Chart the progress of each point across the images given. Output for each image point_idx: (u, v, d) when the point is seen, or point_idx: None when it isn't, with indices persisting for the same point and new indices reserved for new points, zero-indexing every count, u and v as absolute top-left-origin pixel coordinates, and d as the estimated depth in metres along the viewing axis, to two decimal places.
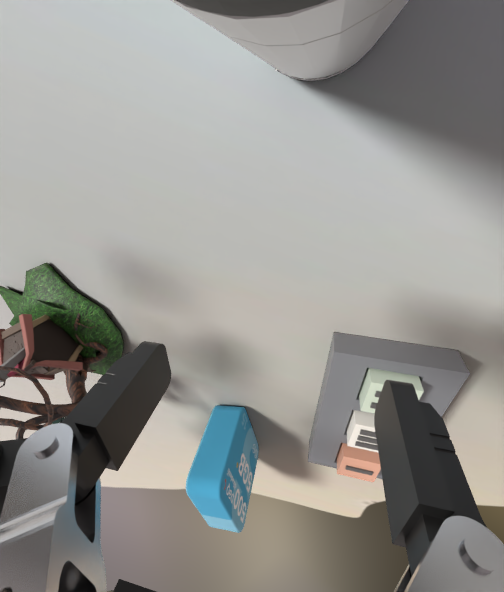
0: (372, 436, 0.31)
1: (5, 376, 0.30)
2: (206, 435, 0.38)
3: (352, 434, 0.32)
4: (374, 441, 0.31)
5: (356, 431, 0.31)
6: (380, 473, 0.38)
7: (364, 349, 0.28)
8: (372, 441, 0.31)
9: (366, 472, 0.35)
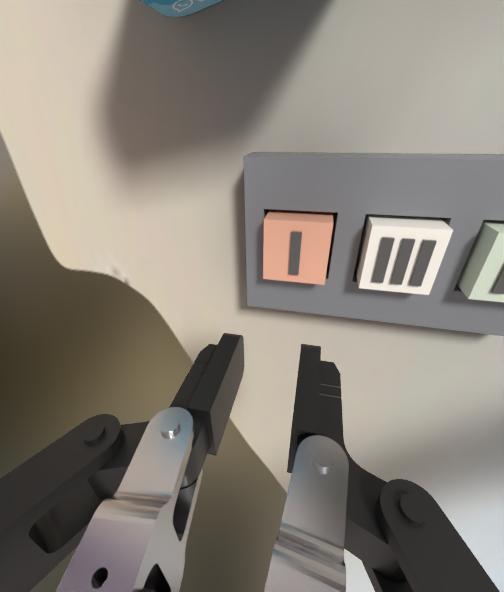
0: (417, 260, 0.18)
1: None
2: None
3: (414, 228, 0.17)
4: (403, 265, 0.18)
5: (427, 234, 0.17)
6: (262, 282, 0.24)
7: None
8: (402, 262, 0.18)
9: (295, 265, 0.20)
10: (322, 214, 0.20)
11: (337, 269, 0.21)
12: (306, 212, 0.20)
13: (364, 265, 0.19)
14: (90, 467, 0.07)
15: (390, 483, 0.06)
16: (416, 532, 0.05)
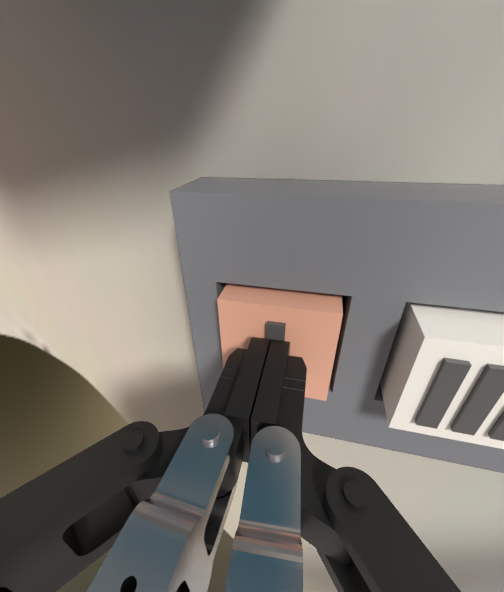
0: None
1: None
2: None
3: None
4: (482, 408, 0.09)
5: None
6: None
7: None
8: (482, 403, 0.09)
9: None
10: None
11: (348, 380, 0.12)
12: None
13: (402, 397, 0.10)
14: (132, 477, 0.06)
15: (334, 473, 0.06)
16: (359, 516, 0.06)
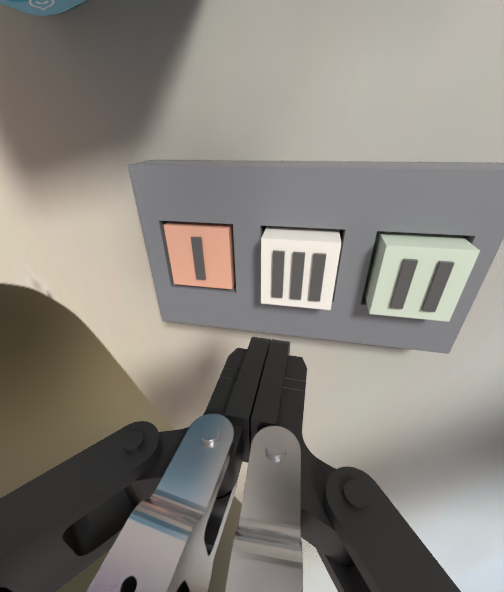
0: (312, 274, 0.17)
1: None
2: None
3: (303, 242, 0.16)
4: (298, 279, 0.17)
5: (317, 247, 0.16)
6: (172, 296, 0.22)
7: None
8: (297, 276, 0.17)
9: (200, 270, 0.20)
10: None
11: (243, 283, 0.20)
12: None
13: (261, 279, 0.18)
14: (132, 477, 0.06)
15: (334, 473, 0.06)
16: (359, 516, 0.06)
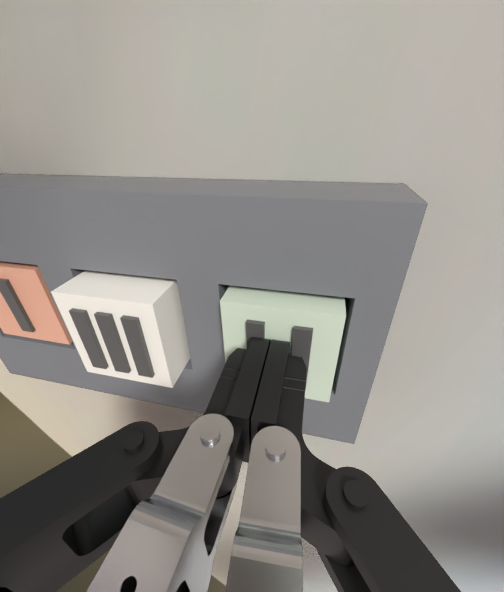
0: (129, 343, 0.12)
1: None
2: None
3: (104, 299, 0.11)
4: (115, 348, 0.12)
5: (124, 308, 0.11)
6: (8, 347, 0.17)
7: None
8: (112, 344, 0.12)
9: (23, 321, 0.15)
10: None
11: None
12: None
13: (75, 343, 0.13)
14: (132, 477, 0.06)
15: (334, 473, 0.06)
16: (359, 516, 0.06)
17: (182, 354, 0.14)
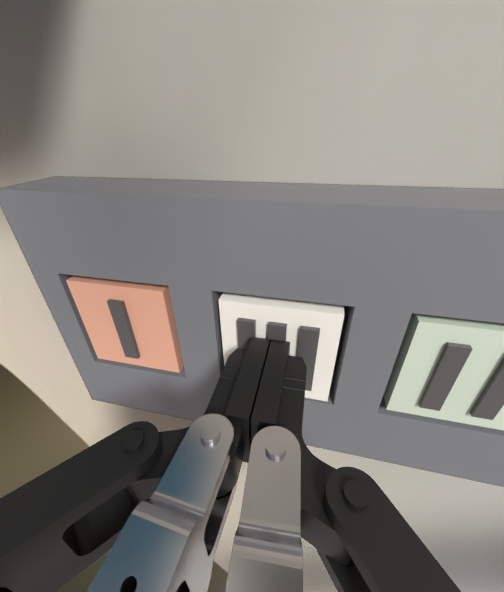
0: (298, 355, 0.11)
1: None
2: None
3: (283, 309, 0.10)
4: None
5: (305, 318, 0.10)
6: (98, 372, 0.15)
7: None
8: None
9: (129, 346, 0.13)
10: None
11: (194, 366, 0.13)
12: None
13: (224, 354, 0.12)
14: (132, 477, 0.07)
15: (334, 473, 0.06)
16: (359, 516, 0.06)
17: None
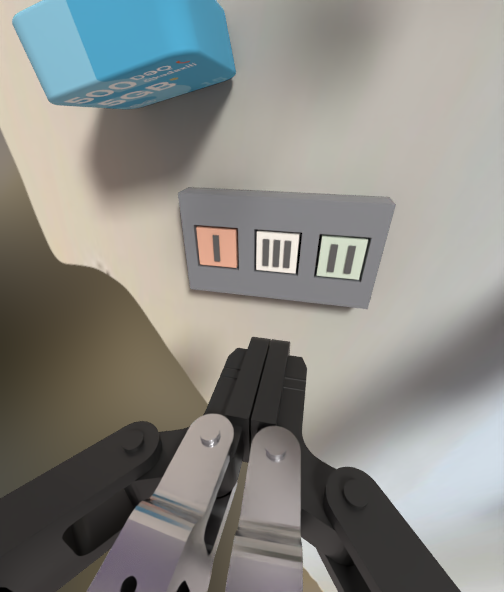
0: (284, 252, 0.31)
1: None
2: None
3: (279, 234, 0.30)
4: (277, 255, 0.32)
5: (286, 237, 0.30)
6: (198, 272, 0.35)
7: None
8: (276, 253, 0.31)
9: (217, 255, 0.33)
10: None
11: (243, 263, 0.33)
12: None
13: (256, 255, 0.32)
14: (132, 478, 0.06)
15: (334, 473, 0.06)
16: (359, 516, 0.06)
17: None
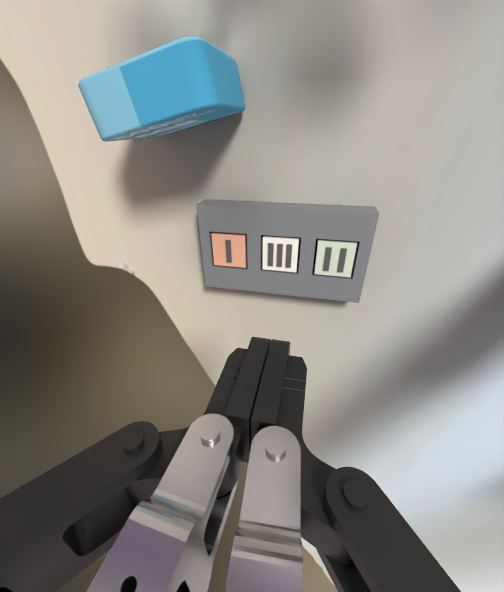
0: (286, 254, 0.37)
1: None
2: (225, 57, 0.26)
3: (281, 239, 0.36)
4: (280, 256, 0.37)
5: (288, 241, 0.36)
6: (212, 271, 0.41)
7: None
8: (279, 255, 0.37)
9: (229, 257, 0.39)
10: None
11: (251, 264, 0.39)
12: None
13: (263, 257, 0.38)
14: (132, 477, 0.06)
15: (334, 473, 0.06)
16: (359, 516, 0.06)
17: (297, 262, 0.38)
